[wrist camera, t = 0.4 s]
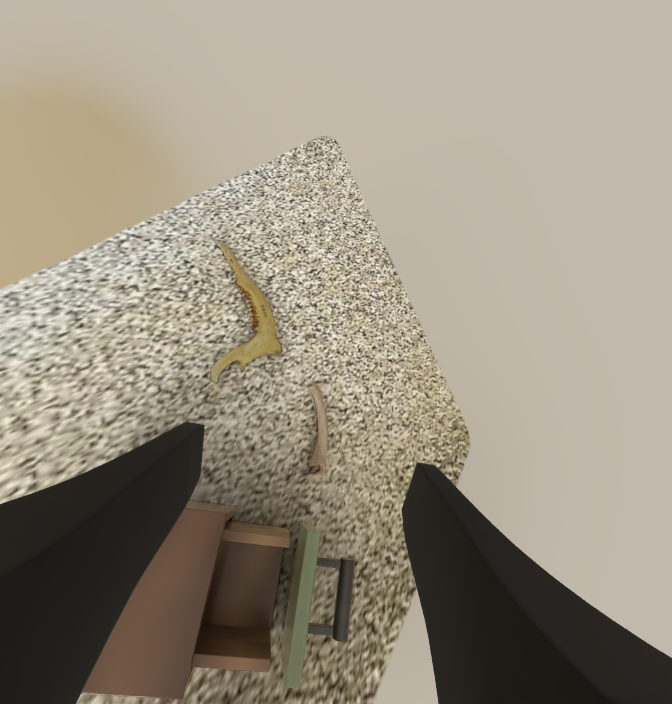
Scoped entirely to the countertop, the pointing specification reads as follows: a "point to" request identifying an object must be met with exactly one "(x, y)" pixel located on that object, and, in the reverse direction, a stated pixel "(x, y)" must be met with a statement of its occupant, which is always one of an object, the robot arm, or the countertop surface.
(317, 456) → the bone
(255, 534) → the drawer
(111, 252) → the countertop surface
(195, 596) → the cabinet
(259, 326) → the jawbone
